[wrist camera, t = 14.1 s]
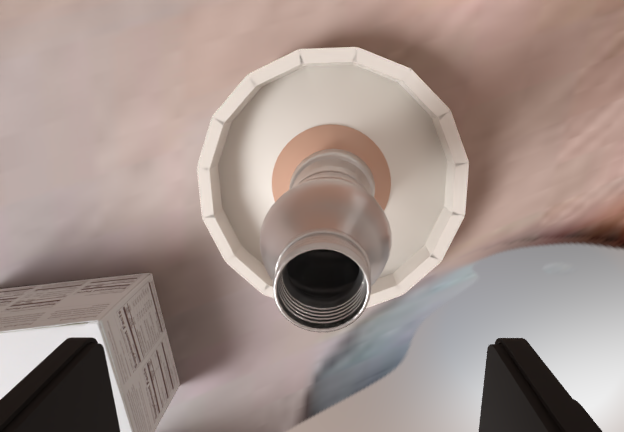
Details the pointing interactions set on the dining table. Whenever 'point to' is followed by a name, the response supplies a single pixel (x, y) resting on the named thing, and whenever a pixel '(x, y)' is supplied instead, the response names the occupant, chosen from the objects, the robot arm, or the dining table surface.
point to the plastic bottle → (326, 242)
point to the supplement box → (104, 328)
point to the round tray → (335, 135)
